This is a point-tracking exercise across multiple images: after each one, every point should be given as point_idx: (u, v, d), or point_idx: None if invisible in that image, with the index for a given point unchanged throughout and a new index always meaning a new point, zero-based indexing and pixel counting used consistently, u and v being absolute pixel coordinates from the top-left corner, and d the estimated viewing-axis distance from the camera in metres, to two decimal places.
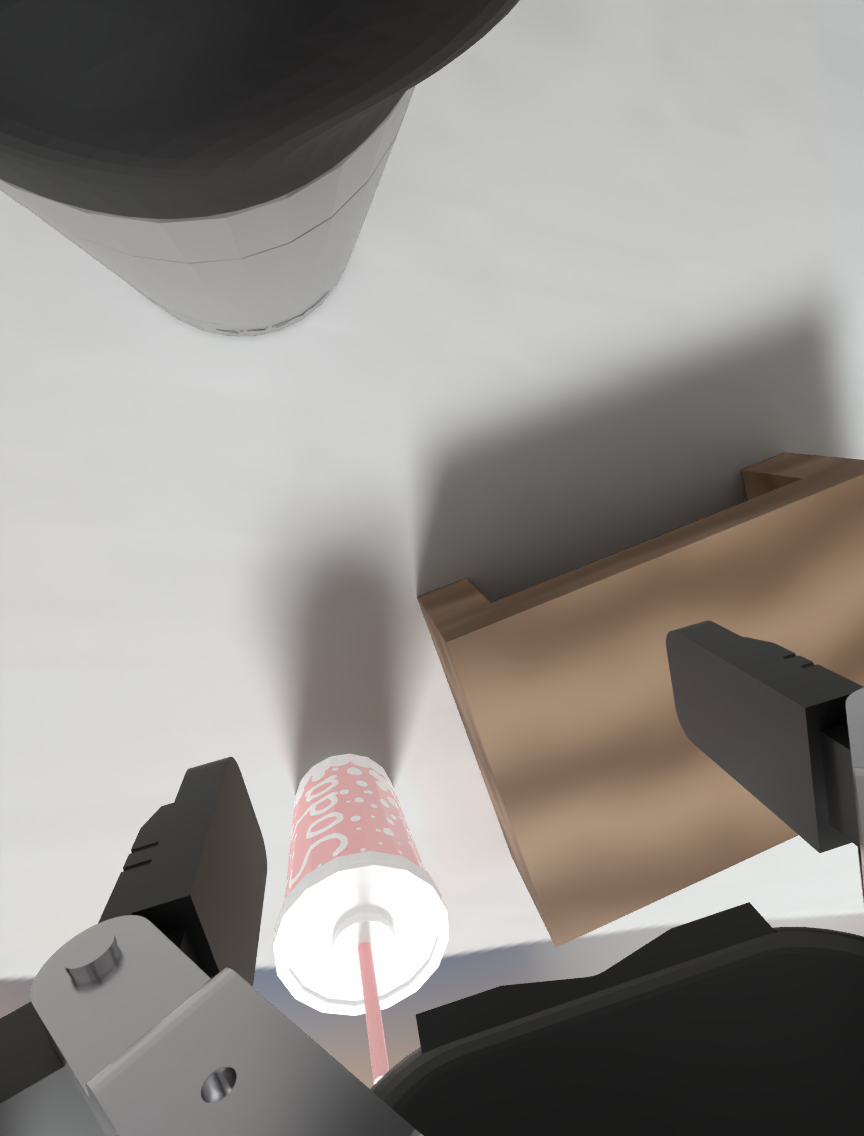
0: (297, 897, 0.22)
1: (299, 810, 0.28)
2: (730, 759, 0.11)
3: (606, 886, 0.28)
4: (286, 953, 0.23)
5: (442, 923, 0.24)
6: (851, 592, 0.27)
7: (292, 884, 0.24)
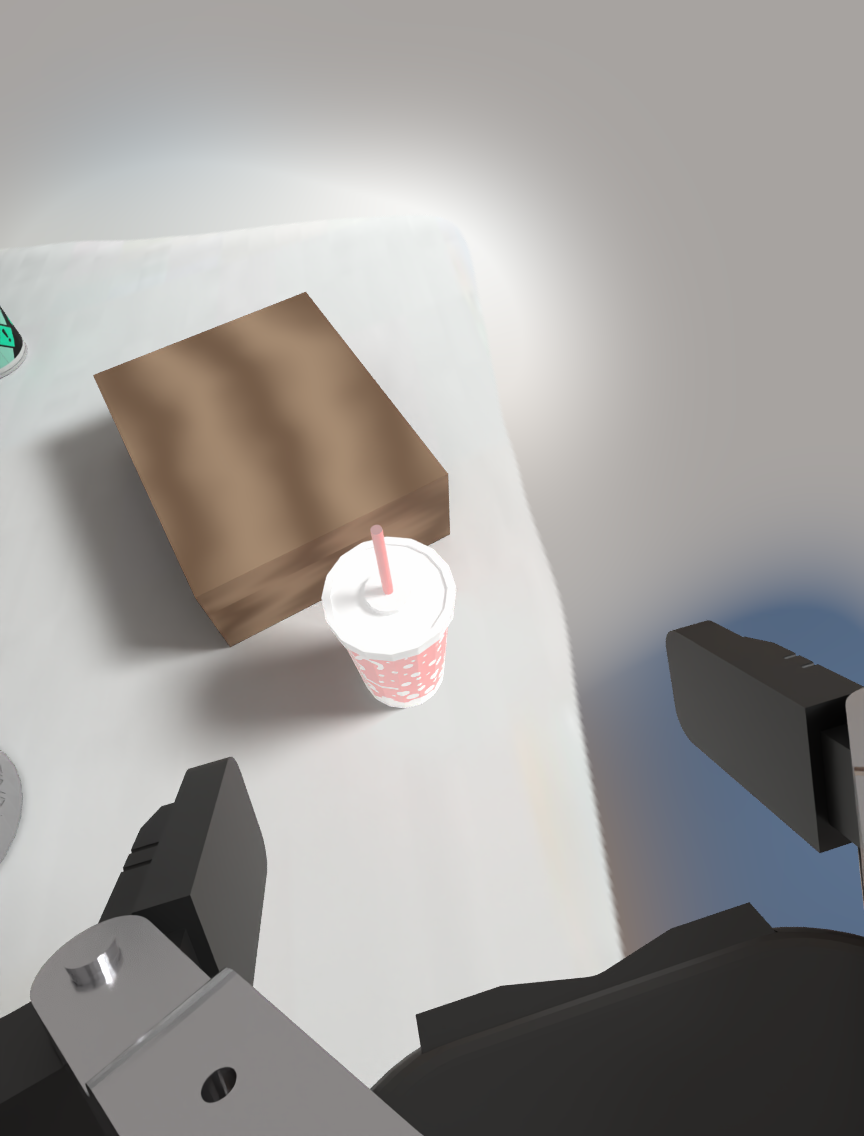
0: (349, 645, 0.29)
1: (381, 690, 0.35)
2: (730, 759, 0.11)
3: (394, 454, 0.38)
4: (398, 644, 0.29)
5: (373, 543, 0.32)
6: (175, 371, 0.43)
7: (371, 660, 0.30)
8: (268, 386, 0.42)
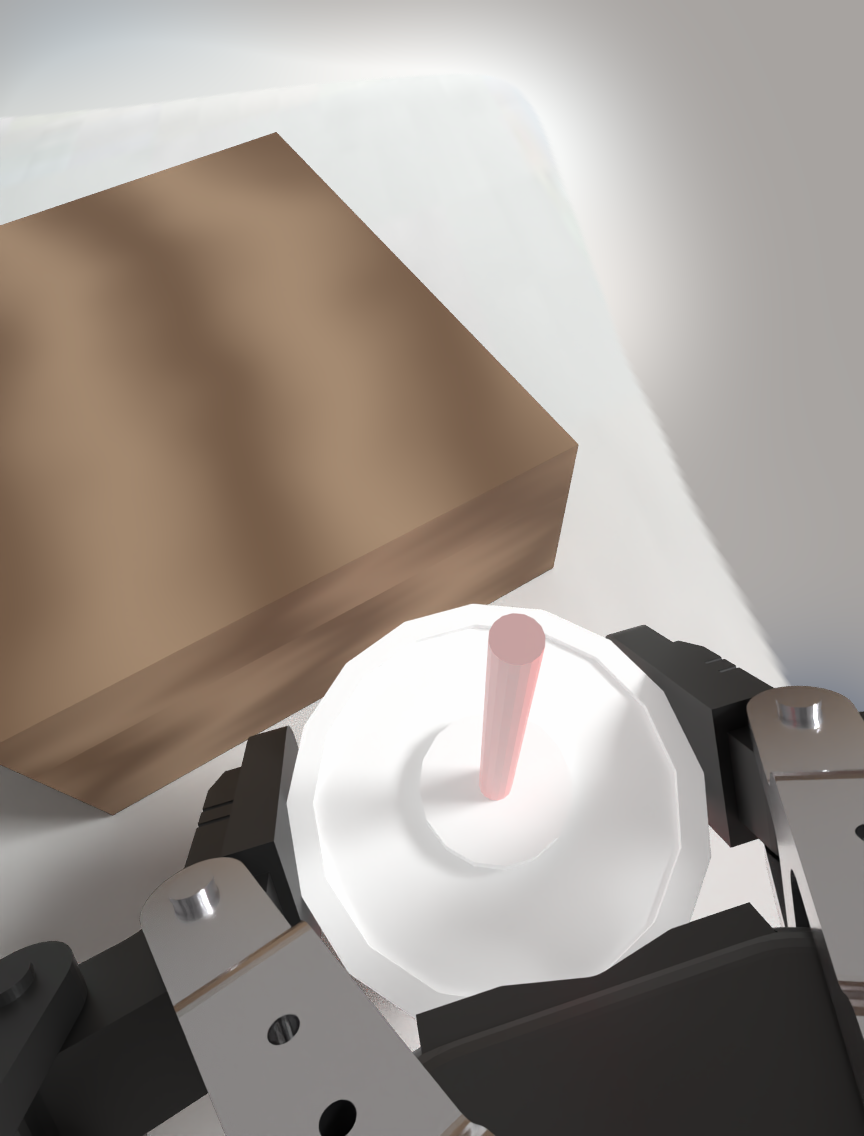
0: (378, 992, 0.09)
1: None
2: None
3: (455, 404, 0.18)
4: None
5: (437, 624, 0.11)
6: (23, 261, 0.22)
7: None
8: (197, 283, 0.21)
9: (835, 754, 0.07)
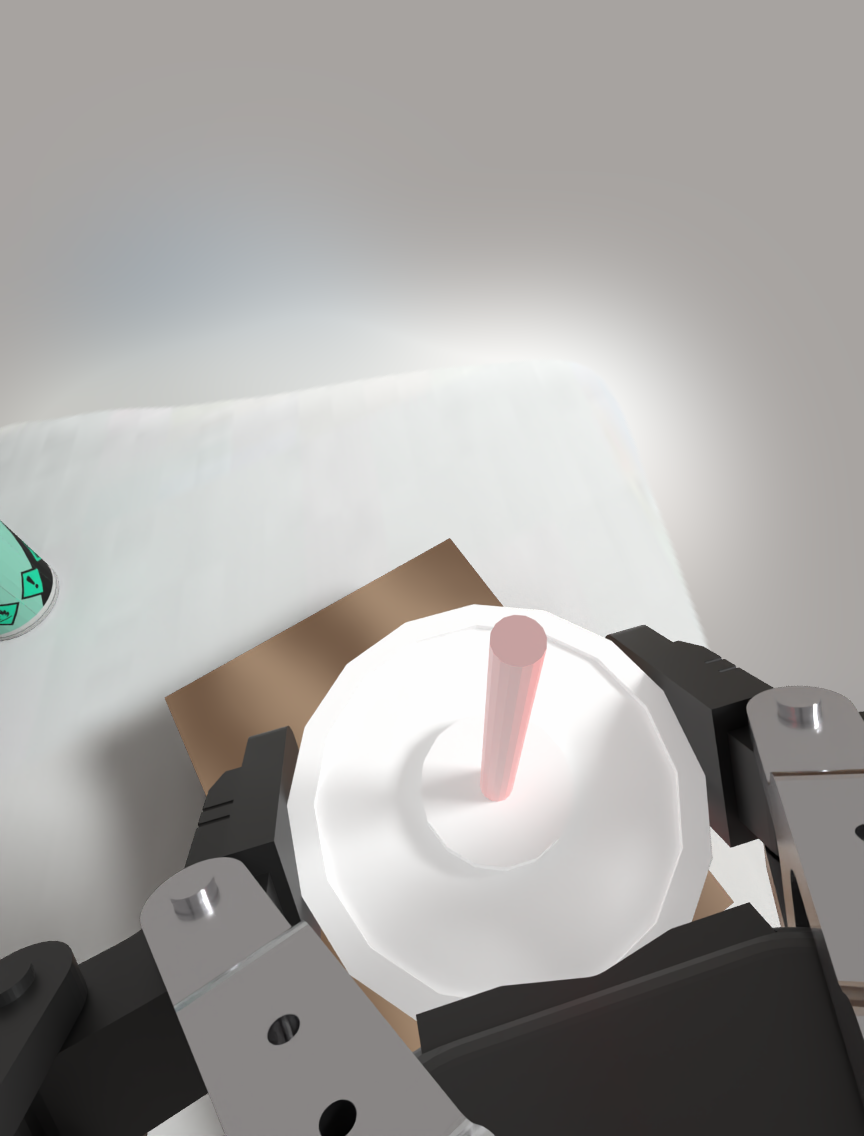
0: (379, 994, 0.09)
1: None
2: None
3: None
4: None
5: (437, 625, 0.11)
6: (283, 689, 0.29)
7: None
8: None
9: (835, 754, 0.07)
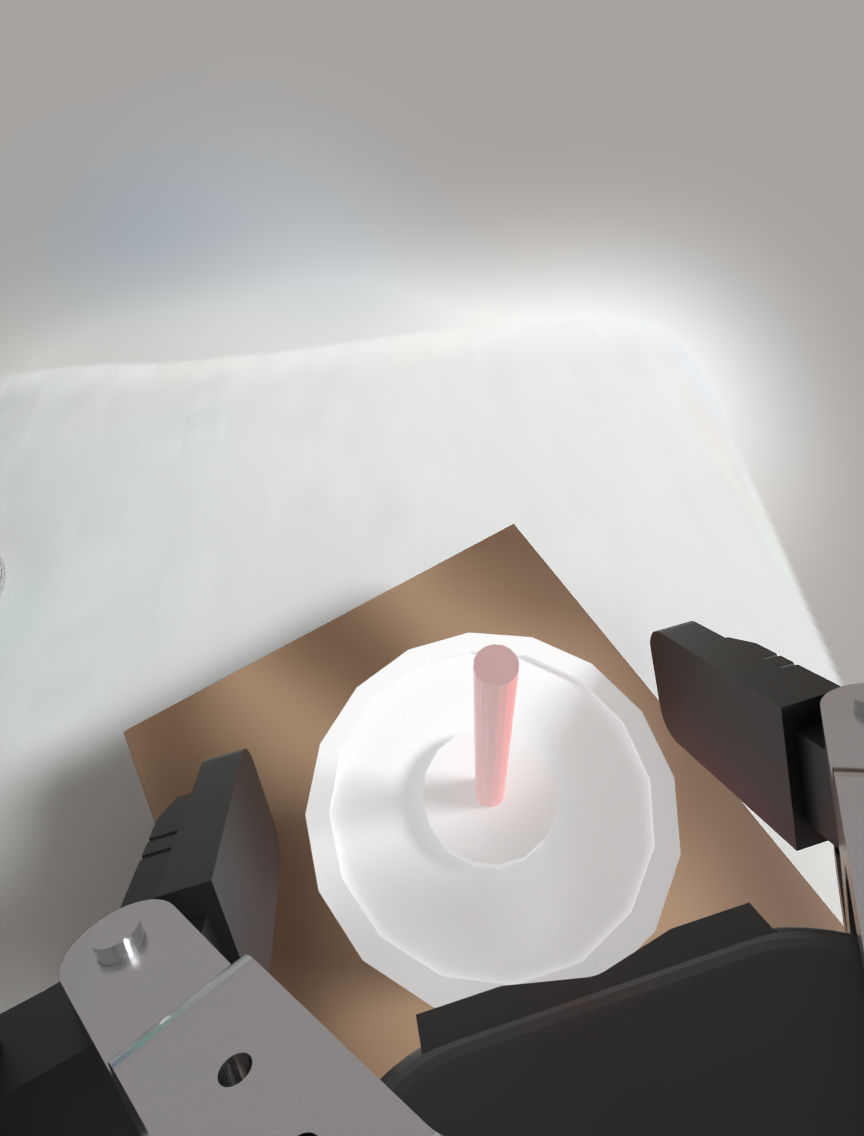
0: (389, 977, 0.10)
1: None
2: (712, 758, 0.11)
3: None
4: (537, 976, 0.10)
5: (437, 651, 0.13)
6: (289, 725, 0.21)
7: None
8: None
9: None
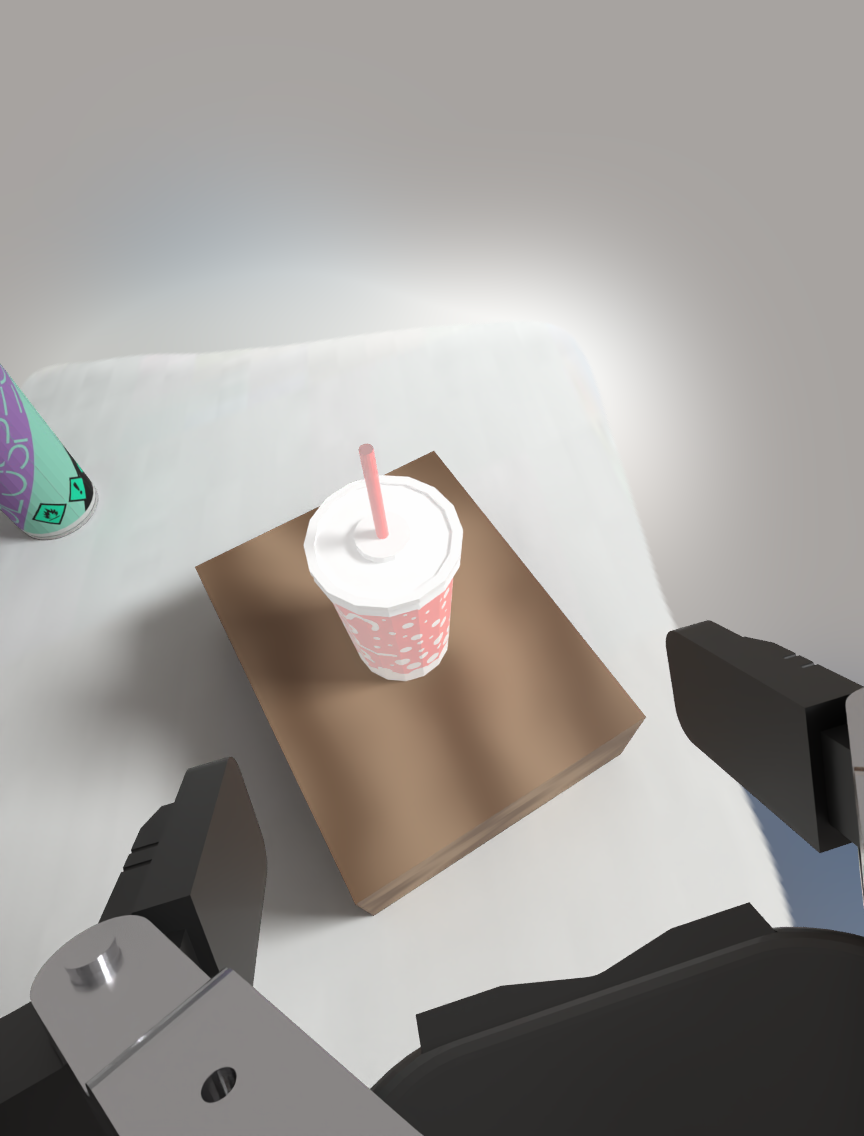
0: (337, 598, 0.24)
1: (378, 659, 0.30)
2: (730, 759, 0.11)
3: (574, 685, 0.32)
4: (396, 596, 0.24)
5: (364, 483, 0.27)
6: (293, 562, 0.36)
7: (363, 618, 0.26)
8: None
9: None
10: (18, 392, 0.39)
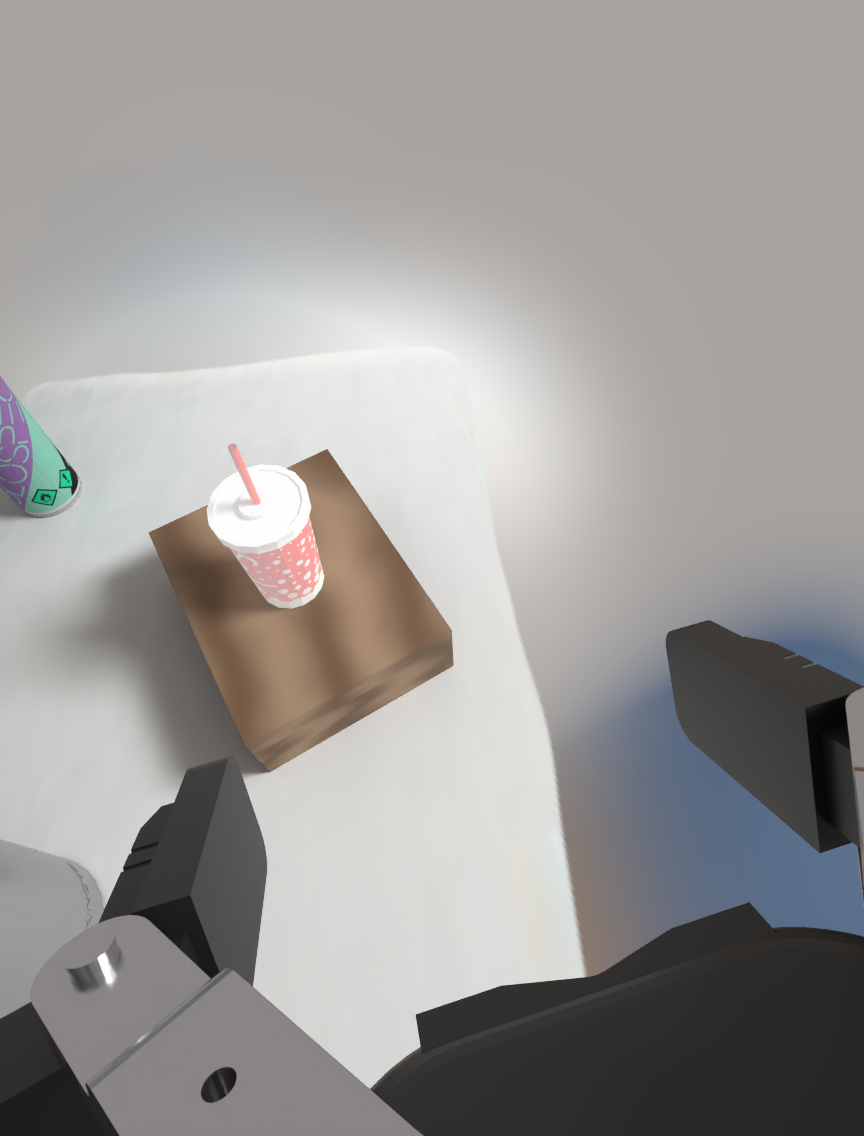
0: (225, 541, 0.39)
1: (266, 590, 0.44)
2: (730, 759, 0.11)
3: (406, 610, 0.46)
4: (262, 540, 0.39)
5: (249, 469, 0.41)
6: None
7: (245, 556, 0.40)
8: None
9: None
10: (21, 407, 0.53)
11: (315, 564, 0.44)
